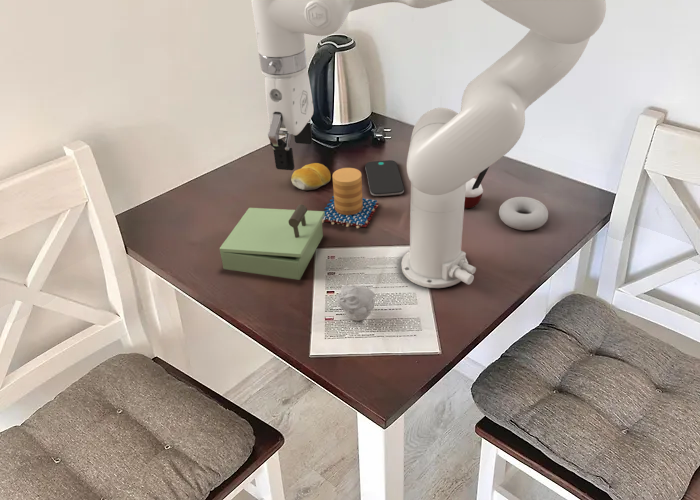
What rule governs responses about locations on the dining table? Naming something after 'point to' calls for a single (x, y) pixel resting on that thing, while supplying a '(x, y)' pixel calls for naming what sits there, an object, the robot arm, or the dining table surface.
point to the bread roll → (311, 176)
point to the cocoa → (474, 190)
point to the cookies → (347, 191)
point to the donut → (516, 220)
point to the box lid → (273, 232)
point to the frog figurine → (356, 301)
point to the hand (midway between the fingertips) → (294, 155)
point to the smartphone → (384, 178)
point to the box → (273, 261)
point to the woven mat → (358, 218)
